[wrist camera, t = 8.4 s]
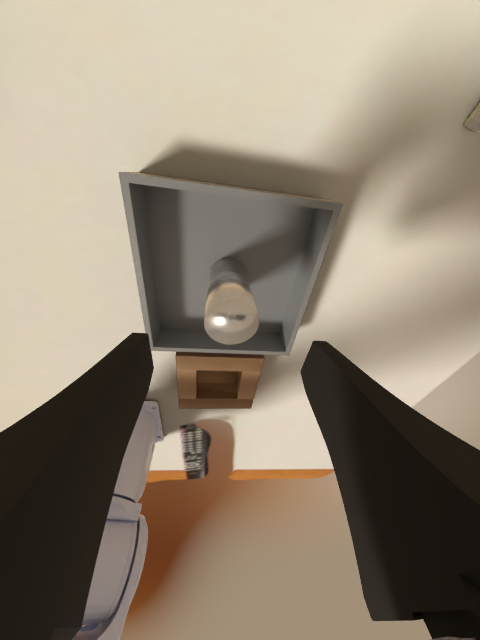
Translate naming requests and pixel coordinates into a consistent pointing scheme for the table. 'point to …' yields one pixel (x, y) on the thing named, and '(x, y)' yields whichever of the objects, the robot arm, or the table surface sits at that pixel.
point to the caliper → (473, 119)
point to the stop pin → (230, 303)
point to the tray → (222, 256)
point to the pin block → (217, 379)
